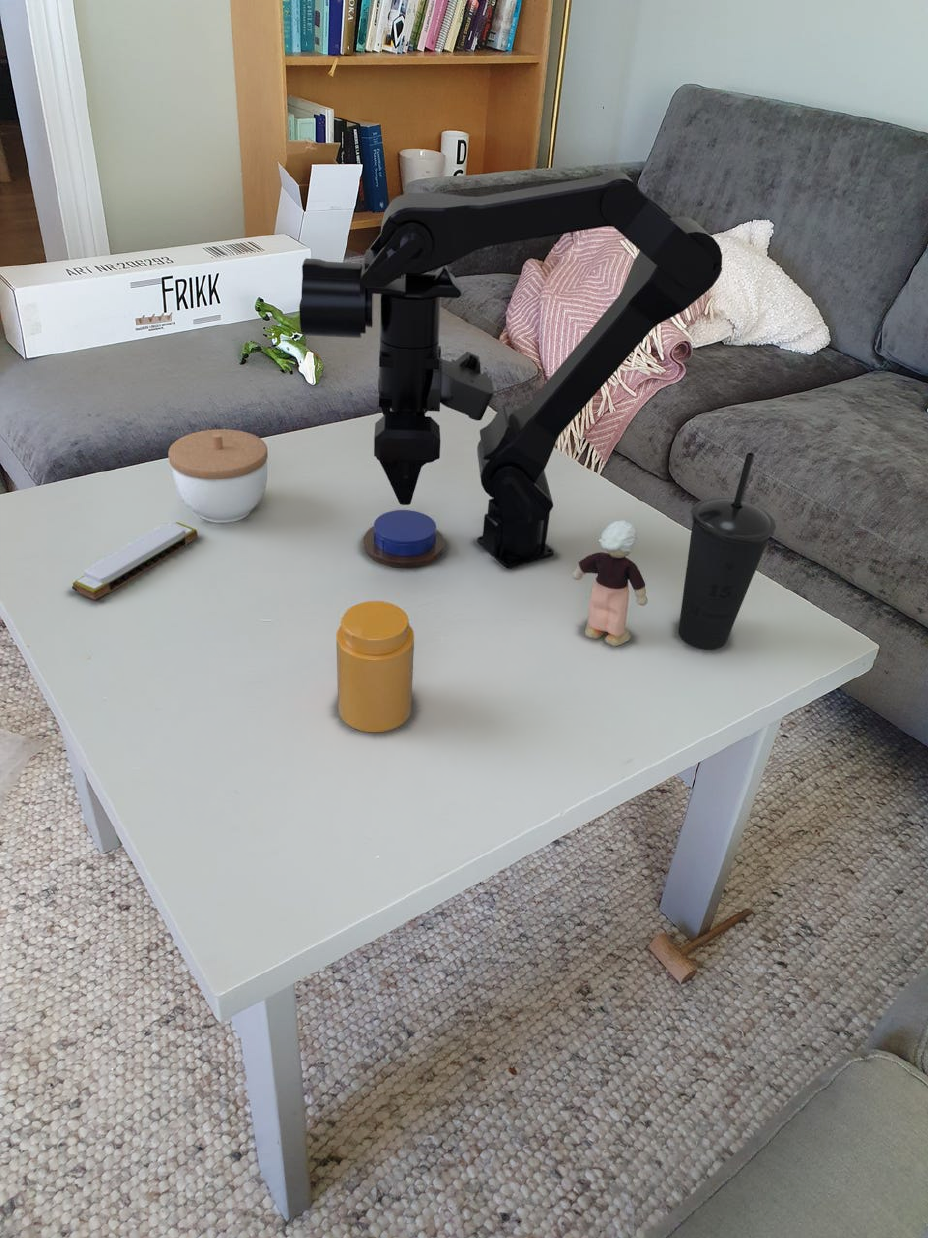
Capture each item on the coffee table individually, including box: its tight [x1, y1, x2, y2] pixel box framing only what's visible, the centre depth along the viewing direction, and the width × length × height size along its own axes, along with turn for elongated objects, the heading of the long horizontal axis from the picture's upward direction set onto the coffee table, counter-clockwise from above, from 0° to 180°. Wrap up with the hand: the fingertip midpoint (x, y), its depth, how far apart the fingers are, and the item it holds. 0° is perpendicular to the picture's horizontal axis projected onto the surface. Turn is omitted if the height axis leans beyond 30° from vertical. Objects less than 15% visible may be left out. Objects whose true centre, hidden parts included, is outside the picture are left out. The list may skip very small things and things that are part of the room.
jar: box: [335, 600, 415, 733], centre depth 78 cm, size 6×6×10 cm
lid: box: [373, 509, 437, 556], centre depth 101 cm, size 7×7×2 cm
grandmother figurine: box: [571, 520, 648, 647], centre depth 88 cm, size 8×4×13 cm, turn 71°
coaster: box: [362, 525, 445, 569], centre depth 102 cm, size 9×9×1 cm
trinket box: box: [167, 428, 269, 524], centre depth 104 cm, size 11×11×9 cm
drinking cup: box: [677, 452, 777, 651], centre depth 86 cm, size 8×8×20 cm
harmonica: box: [71, 522, 198, 601], centre depth 95 cm, size 15×3×2 cm, turn 151°
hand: (405, 482), depth 98 cm, fingers open, 9 cm apart
